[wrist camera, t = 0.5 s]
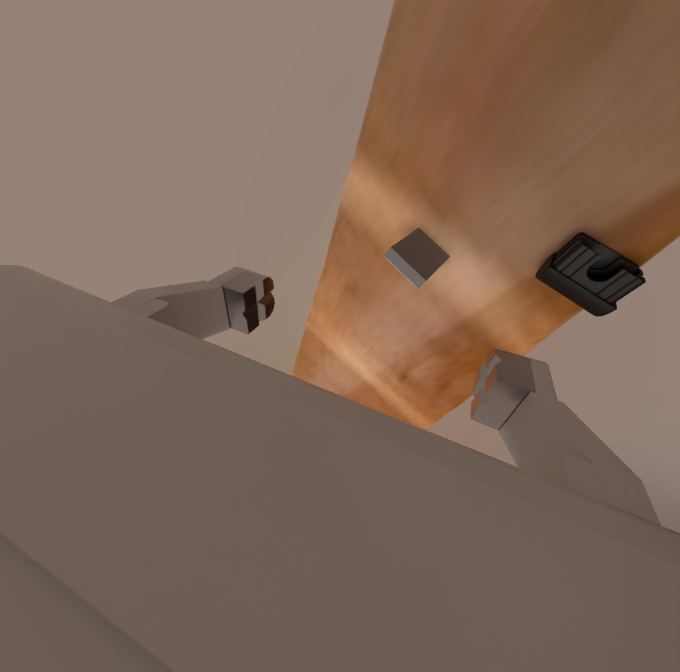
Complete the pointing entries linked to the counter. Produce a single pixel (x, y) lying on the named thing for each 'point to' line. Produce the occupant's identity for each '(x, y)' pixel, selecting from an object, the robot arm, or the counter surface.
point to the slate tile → (416, 257)
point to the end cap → (590, 274)
